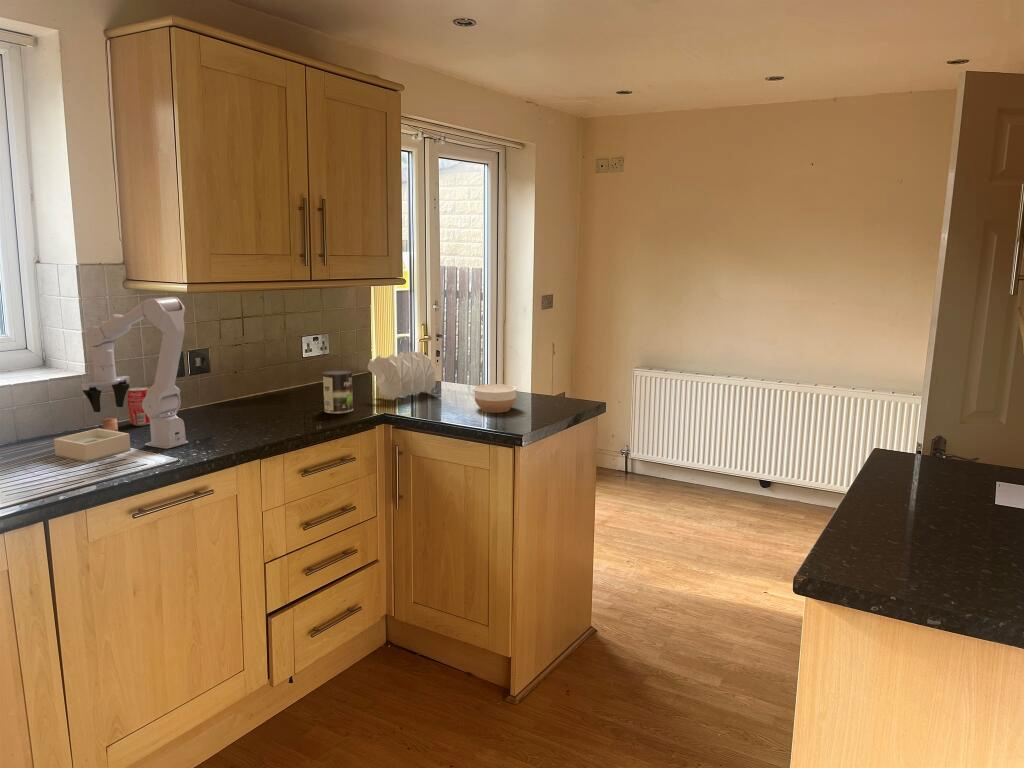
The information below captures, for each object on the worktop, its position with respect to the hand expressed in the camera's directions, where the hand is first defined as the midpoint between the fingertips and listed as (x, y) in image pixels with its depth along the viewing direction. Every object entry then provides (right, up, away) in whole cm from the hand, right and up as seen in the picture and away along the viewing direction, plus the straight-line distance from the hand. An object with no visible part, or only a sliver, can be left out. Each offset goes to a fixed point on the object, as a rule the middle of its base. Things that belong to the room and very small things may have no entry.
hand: (108, 409), depth 232 cm
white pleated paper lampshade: (+81, +3, +66) cm, 105 cm away
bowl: (+117, -2, +45) cm, 126 cm away
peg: (0, -9, +2) cm, 9 cm away
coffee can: (+61, -2, +41) cm, 74 cm away
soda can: (0, -6, +20) cm, 21 cm away
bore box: (+3, -12, -14) cm, 19 cm away
